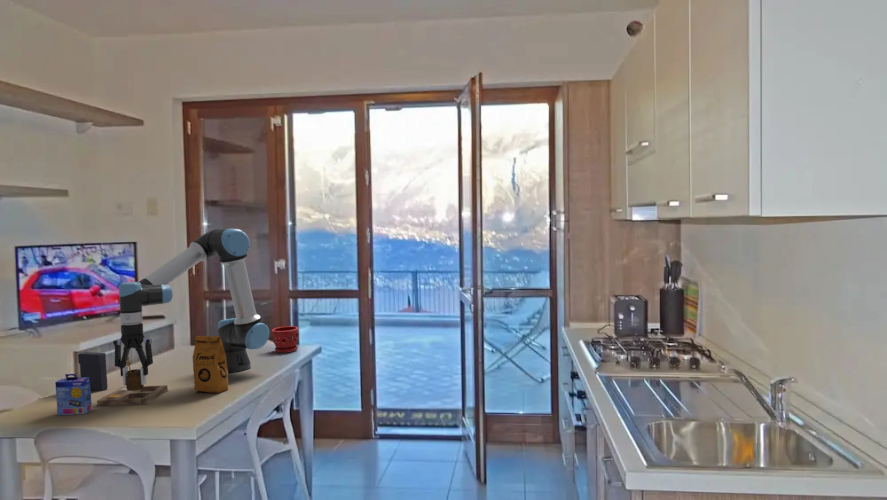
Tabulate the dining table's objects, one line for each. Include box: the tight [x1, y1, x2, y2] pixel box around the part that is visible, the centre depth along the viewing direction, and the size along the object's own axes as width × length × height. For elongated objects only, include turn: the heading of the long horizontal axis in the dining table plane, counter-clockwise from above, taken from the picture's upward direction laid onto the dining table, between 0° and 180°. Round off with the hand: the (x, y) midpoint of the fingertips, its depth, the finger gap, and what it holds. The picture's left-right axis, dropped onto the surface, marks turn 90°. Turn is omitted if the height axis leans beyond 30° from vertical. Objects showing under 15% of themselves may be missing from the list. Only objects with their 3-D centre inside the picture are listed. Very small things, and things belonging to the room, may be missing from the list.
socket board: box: [96, 384, 168, 407], centre depth 252 cm, size 18×20×2 cm
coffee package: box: [192, 335, 229, 394], centre depth 258 cm, size 10×12×22 cm
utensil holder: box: [125, 356, 145, 391], centre depth 246 cm, size 6×6×12 cm
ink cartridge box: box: [54, 373, 93, 416], centre depth 233 cm, size 10×6×14 cm, turn 95°
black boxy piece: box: [77, 351, 109, 392], centre depth 267 cm, size 11×4×15 cm, turn 71°
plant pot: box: [271, 325, 300, 354], centre depth 335 cm, size 13×13×12 cm
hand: (135, 384), depth 247 cm, fingers closed on utensil holder, 6 cm apart
